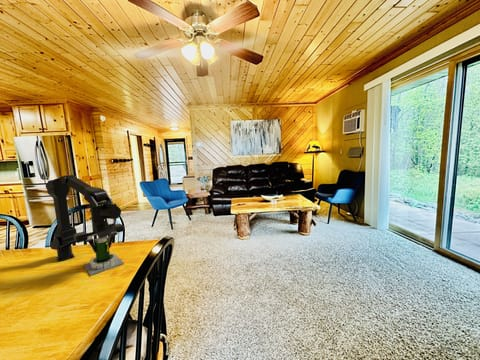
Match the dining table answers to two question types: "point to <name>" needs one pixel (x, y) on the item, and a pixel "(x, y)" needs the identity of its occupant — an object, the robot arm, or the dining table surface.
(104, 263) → the metal collar
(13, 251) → the dining table surface
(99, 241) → the beer can
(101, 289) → the dining table surface
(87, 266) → the socket plate
